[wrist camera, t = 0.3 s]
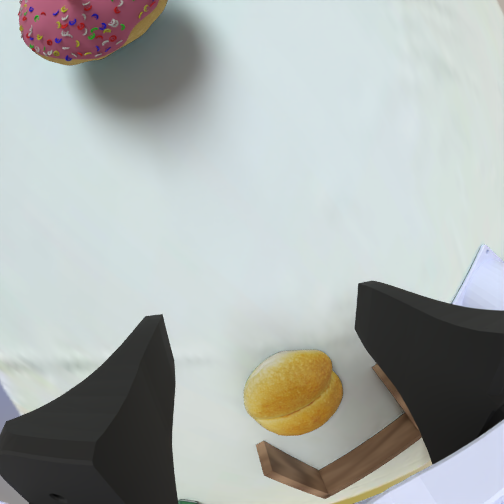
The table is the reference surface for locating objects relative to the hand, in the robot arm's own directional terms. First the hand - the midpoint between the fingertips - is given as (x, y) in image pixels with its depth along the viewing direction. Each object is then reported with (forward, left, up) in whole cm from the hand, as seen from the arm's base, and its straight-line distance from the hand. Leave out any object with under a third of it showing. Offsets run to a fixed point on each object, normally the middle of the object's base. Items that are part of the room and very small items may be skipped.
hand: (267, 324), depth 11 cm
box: (-20, +15, -10) cm, 27 cm away
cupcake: (+14, -10, -10) cm, 20 cm away
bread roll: (-10, +10, -11) cm, 18 cm away
